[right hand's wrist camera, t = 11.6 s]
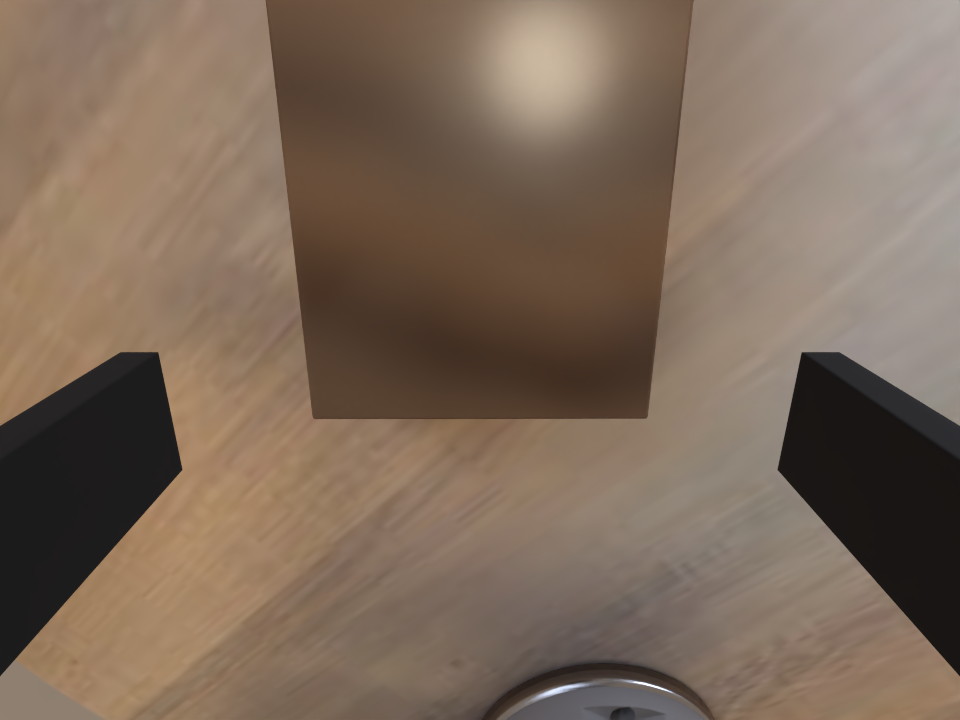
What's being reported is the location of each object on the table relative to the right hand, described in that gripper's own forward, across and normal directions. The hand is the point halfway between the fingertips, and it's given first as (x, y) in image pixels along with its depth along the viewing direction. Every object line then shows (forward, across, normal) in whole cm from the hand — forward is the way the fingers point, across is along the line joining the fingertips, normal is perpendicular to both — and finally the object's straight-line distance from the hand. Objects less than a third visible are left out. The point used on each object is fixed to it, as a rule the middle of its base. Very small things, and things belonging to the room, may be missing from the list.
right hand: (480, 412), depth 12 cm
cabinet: (+14, 0, -6) cm, 16 cm away
